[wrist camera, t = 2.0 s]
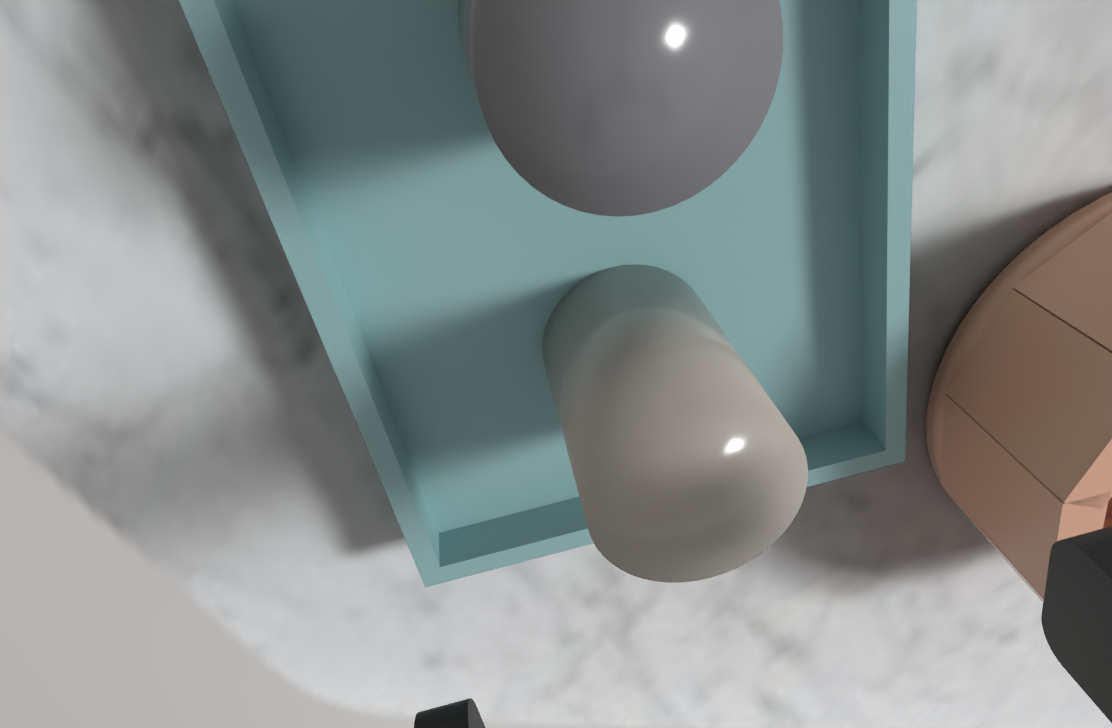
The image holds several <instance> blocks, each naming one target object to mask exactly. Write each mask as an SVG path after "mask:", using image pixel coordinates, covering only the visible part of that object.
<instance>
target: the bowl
mask: <svg viewBox="0 0 1112 728" xmlns="http://www.w3.org/2000/svg"><path fill="white" fill-rule="evenodd" d="M926 438H927V448H928V452H929V457H930V462H931V465H932V467H933V469H934V472H935V474H936V476H937V479H938V481H939V482H940V484H941V485H942V487H943V488H944V489H945V491H946V492H947V494H948V495H949V496H950V497H951V498H952V499H953V501H954V502H955V503H956V504H957V505H958V506H959V507H960V508H961V510H962V511H963V512H964V513H965V514H966V515H967V516H968V518H969V519H970V520H971V521H972V522H973V524H974V525H975V526H976V527H977V528H978V530H979V531H980V532H981V533H982V534H983V536H984V537H985V538H986V539H987V540H988V541H989V543H990V544H991V545H992V546H993V547H994V548H995V549H996V550H997V551H998V553H999V554H1000V555H1001V556H1002V557H1003V558H1004V559H1005V560H1006V562H1007V563H1008V564H1009V565H1010V566H1011V567H1012V568H1013V569H1014V571H1015V572H1016V573H1017V574H1018V575H1019V576H1020V577H1021V578H1022V580H1023V581H1024V582H1025V583H1026V584H1027V585H1028V586H1029V587H1030V589H1031V590H1032V591H1033V592H1034V593H1035V594H1036V595H1037V596H1038V597H1039V599H1040V600H1041V601H1042V602H1044V595H1045V587H1046V580H1047V572H1048V565H1049V558H1050V551H1051V548H1052V546H1053V544H1054V543H1055V542H1057V541H1059V540H1063V539H1066V538H1070V537H1074V536H1077V535H1081V534H1085V533H1088V532H1092V531H1096V530H1099V529H1103V528H1107V527H1112V193H1109V194H1107V195H1105V196H1103V197H1101V198H1099V199H1097V200H1095V201H1094V202H1092V203H1090V204H1088V205H1087V206H1085V207H1083V208H1081V209H1079V210H1078V211H1076V212H1074V213H1072V214H1071V215H1070V216H1068V217H1067V218H1065V219H1064V220H1062V221H1061V222H1059V223H1058V224H1057V225H1055V226H1054V227H1052V228H1051V229H1049V230H1048V231H1046V232H1045V233H1044V234H1043V235H1041V236H1040V237H1039V238H1038V239H1037V240H1035V241H1034V242H1033V243H1032V244H1031V245H1029V246H1028V247H1027V248H1026V249H1025V250H1023V251H1022V252H1021V253H1020V254H1019V255H1018V256H1017V257H1016V258H1015V259H1014V260H1013V261H1012V262H1011V263H1010V264H1009V265H1008V266H1007V267H1006V268H1005V269H1004V270H1003V271H1002V272H1001V273H1000V274H999V275H998V276H997V277H996V278H995V279H994V280H993V281H992V283H991V284H990V285H989V286H988V287H987V289H986V290H985V291H984V292H983V293H982V295H981V296H980V297H979V298H978V299H977V301H976V302H975V303H974V305H973V306H972V308H971V309H970V311H969V312H968V314H967V315H966V317H965V318H964V319H963V321H962V322H961V324H960V325H959V327H958V329H957V330H956V332H955V334H954V336H953V338H952V340H951V342H950V343H949V345H948V347H947V349H946V351H945V353H944V355H943V358H942V360H941V363H940V365H939V368H938V370H937V373H936V375H935V378H934V382H933V386H932V390H931V394H930V397H929V401H928V410H927V418H926Z"/></svg>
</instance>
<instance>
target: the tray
mask: <svg viewBox="0 0 1112 728" xmlns="http://www.w3.org/2000/svg"><path fill="white" fill-rule="evenodd" d="M779 1H780V5H781V13H782V21H783V55H782V63H781V71H780V75H779V79H778V83H777V88H776V91H775V94H774V97H773V100H772V102H771V105H770V108H769V111H768V113H767V115H766V117H765V119H764V121H763V123H762V125H761V127H760V129H759V131H758V132H757V134H756V135H755V137H754V138H753V140H752V141H751V143H750V145H749V146H748V147H747V149H746V150H745V151H744V152H743V154H742V155H741V156H740V157H739V159H738V160H737V161H736V162H735V163H734V164H733V165H732V166H731V167H730V168H729V169H728V170H727V171H726V172H725V173H724V174H723V175H722V176H721V177H720V178H718V179H717V180H716V181H715V182H713V183H712V184H711V185H710V186H708V187H707V188H706V189H704V190H702V191H701V192H699V193H697V194H696V195H694V196H693V197H691V198H689V199H687V200H685V201H683V202H681V203H678V204H676V205H674V206H672V207H669V208H665V209H662V210H659V211H656V212H652V213H647V214H642V215H636V216H620V217H616V216H601V215H595V214H590V213H585V212H581V211H578V210H575V209H572V208H569V207H566V206H564V205H562V204H560V203H558V202H556V201H554V200H552V199H550V198H548V197H546V196H545V195H543V194H542V193H541V192H539V191H538V190H536V189H535V188H533V187H532V186H531V185H530V184H529V183H528V182H526V181H525V180H524V179H523V178H522V177H521V176H520V175H519V174H518V173H517V172H516V171H515V170H514V169H513V167H512V166H511V165H510V164H509V163H508V161H507V160H506V159H505V157H504V156H503V154H502V153H501V151H500V150H499V148H498V147H497V145H496V143H495V142H494V139H493V137H492V135H491V133H490V131H489V129H488V127H487V125H486V122H485V119H484V116H483V113H482V109H481V106H480V103H479V100H478V96H477V93H476V89H475V86H474V82H473V79H472V75H471V72H470V68H469V65H468V61H467V58H466V54H465V51H464V47H463V44H462V40H461V35H460V30H459V25H458V11H457V7H458V0H179V2H180V5H181V7H182V9H183V12H184V14H185V16H186V19H187V21H188V24H189V26H190V28H191V31H192V33H193V35H194V38H195V40H196V43H197V45H198V47H199V50H200V52H201V54H202V57H203V59H204V62H205V64H206V66H207V69H208V71H209V74H210V76H211V78H212V81H213V83H214V85H215V88H216V90H217V93H218V95H219V97H220V100H221V102H222V104H223V107H224V109H225V112H226V114H227V116H228V119H229V121H230V123H231V126H232V128H233V131H234V133H235V135H236V138H237V140H238V143H239V145H240V147H241V150H242V152H243V154H244V157H245V159H246V162H247V164H248V166H249V169H250V171H251V173H252V176H253V178H254V181H255V183H256V185H257V188H258V190H259V192H260V195H261V197H262V200H263V202H264V204H265V207H266V209H267V212H268V214H269V216H270V219H271V221H272V223H273V226H274V228H275V231H276V233H277V235H278V238H279V240H280V242H281V245H282V247H283V250H284V252H285V254H286V257H287V259H288V261H289V264H290V266H291V269H292V271H293V273H294V276H295V278H296V281H297V283H298V285H299V288H300V290H301V292H302V295H303V297H304V300H305V302H306V304H307V307H308V309H309V311H310V314H311V316H312V319H313V321H314V323H315V326H316V328H317V330H318V333H319V335H320V338H321V340H322V342H323V345H324V347H325V350H326V352H327V354H328V357H329V359H330V361H331V364H332V366H333V369H334V371H335V373H336V376H337V378H338V380H339V383H340V385H341V388H342V390H343V392H344V395H345V397H346V399H347V402H348V404H349V407H350V409H351V411H352V414H353V416H354V419H355V421H356V423H357V426H358V428H359V430H360V433H361V435H362V438H363V440H364V442H365V445H366V447H367V449H368V452H369V454H370V457H371V459H372V461H373V464H374V466H375V468H376V471H377V473H378V476H379V478H380V480H381V483H382V485H383V488H384V490H385V492H386V495H387V497H388V499H389V502H390V504H391V507H392V509H393V511H394V514H395V516H396V518H397V521H398V523H399V526H400V528H401V530H402V533H403V535H404V537H405V540H406V542H407V545H408V547H409V549H410V552H411V554H412V557H413V559H414V561H415V564H416V566H417V568H418V571H419V573H420V576H421V578H422V580H423V583H424V585H425V587H428V586H432V585H436V584H440V583H444V582H447V581H451V580H455V579H459V578H463V577H466V576H470V575H474V574H478V573H482V572H485V571H489V570H493V569H497V568H501V567H505V566H508V565H512V564H516V563H520V562H524V561H527V560H531V559H535V558H539V557H543V556H546V555H550V554H554V553H558V552H562V551H566V550H569V549H573V548H577V547H581V546H585V545H588V544H592V543H594V542H593V540H592V538H591V536H590V533H589V530H588V528H587V524H586V520H585V516H584V513H583V509H582V505H581V501H580V497H579V494H578V490H577V486H576V482H575V479H574V475H573V471H572V467H571V463H570V460H569V456H568V452H567V448H566V444H565V441H564V437H563V433H562V429H561V425H560V422H559V418H558V414H557V410H556V406H555V403H554V399H553V395H552V391H551V387H550V384H549V380H548V376H547V372H546V369H545V365H544V360H543V351H542V343H543V335H544V331H545V328H546V324H547V322H548V319H549V317H550V315H551V313H552V311H553V310H554V308H555V306H556V305H557V304H558V302H559V301H560V300H561V298H562V297H563V296H564V295H565V294H566V293H567V292H568V291H569V290H570V289H571V288H572V287H574V286H575V285H576V284H578V283H579V282H580V281H582V280H583V279H585V278H587V277H588V276H590V275H592V274H595V273H597V272H599V271H601V270H605V269H608V268H611V267H615V266H621V265H631V264H638V265H649V266H654V267H658V268H661V269H664V270H667V271H669V272H671V273H673V274H675V275H677V276H678V277H679V278H681V279H682V280H684V281H685V282H686V283H687V284H688V285H689V286H690V287H691V288H692V289H693V290H694V292H695V293H696V294H697V295H698V297H699V298H700V300H701V301H702V303H703V304H704V305H705V307H706V308H707V310H708V311H709V312H710V314H711V315H712V317H713V318H714V319H715V321H716V322H717V324H718V325H719V327H720V328H721V329H722V331H723V332H724V334H725V335H726V336H727V338H728V339H729V341H730V342H731V344H732V345H733V346H734V348H735V349H736V351H737V352H738V353H739V355H740V356H741V358H742V359H743V361H744V362H745V363H746V365H747V366H748V368H749V369H750V370H751V372H752V373H753V375H754V376H755V378H756V379H757V380H758V382H759V383H760V385H761V386H762V387H763V389H764V390H765V392H766V393H767V395H768V396H769V397H770V399H771V400H772V402H773V403H774V404H775V406H776V407H777V409H778V410H779V412H780V413H781V414H782V416H783V417H784V419H785V420H786V421H787V423H788V424H789V426H790V427H791V429H792V430H793V431H794V433H795V434H796V436H797V437H798V439H799V441H800V443H801V444H802V446H803V449H804V452H805V455H806V458H807V465H808V482H807V487H810V486H813V485H817V484H821V483H825V482H829V481H832V480H836V479H840V478H844V477H848V476H852V475H855V474H859V473H863V472H867V471H871V470H874V469H878V468H882V467H886V466H890V465H894V464H897V463H901V462H905V451H906V411H907V371H908V331H909V291H910V251H911V211H912V172H913V132H914V92H915V52H916V12H917V0H779Z"/></svg>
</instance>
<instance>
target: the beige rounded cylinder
mask: <svg viewBox="0 0 1112 728" xmlns="http://www.w3.org/2000/svg"><path fill="white" fill-rule="evenodd" d="M542 351H543V360H544V365H545V369H546V372H547V376H548V380H549V384H550V387H551V391H552V395H553V399H554V403H555V406H556V410H557V414H558V418H559V422H560V425H561V429H562V433H563V437H564V441H565V444H566V448H567V452H568V456H569V460H570V463H571V467H572V471H573V475H574V479H575V482H576V486H577V490H578V494H579V497H580V501H581V505H582V509H583V513H584V516H585V520H586V524H587V528H588V530H589V533H590V536H591V538H592V540H593V542H594V544H595V546H596V547H597V549H598V550H599V551H600V552H601V554H602V555H603V556H604V557H605V558H606V559H607V560H608V561H610V562H611V563H612V564H613V565H615V566H616V567H618V568H619V569H621V570H623V571H625V572H627V573H629V574H631V575H634V576H637V577H640V578H643V579H647V580H652V581H659V582H689V581H697V580H702V579H706V578H711V577H714V576H717V575H720V574H724V573H726V572H728V571H731V570H733V569H736V568H738V567H740V566H741V565H743V564H745V563H747V562H749V561H750V560H752V559H754V558H755V557H757V556H758V555H760V554H761V553H762V552H764V551H765V550H766V549H767V548H769V547H770V546H771V545H772V544H773V543H774V542H775V541H776V540H777V539H778V538H779V537H780V536H781V535H782V534H783V533H784V532H785V530H786V529H787V528H788V527H789V525H790V524H791V522H792V521H793V519H794V518H795V516H796V515H797V513H798V511H799V509H800V507H801V504H802V502H803V499H804V496H805V493H806V488H807V482H808V465H807V458H806V455H805V452H804V449H803V446H802V444H801V443H800V441H799V439H798V437H797V436H796V434H795V433H794V431H793V430H792V429H791V427H790V426H789V424H788V423H787V421H786V420H785V419H784V417H783V416H782V414H781V413H780V412H779V410H778V409H777V407H776V406H775V404H774V403H773V402H772V400H771V399H770V397H769V396H768V395H767V393H766V392H765V390H764V389H763V387H762V386H761V385H760V383H759V382H758V380H757V379H756V378H755V376H754V375H753V373H752V372H751V370H750V369H749V368H748V366H747V365H746V363H745V362H744V361H743V359H742V358H741V356H740V355H739V353H738V352H737V351H736V349H735V348H734V346H733V345H732V344H731V342H730V341H729V339H728V338H727V336H726V335H725V334H724V332H723V331H722V329H721V328H720V327H719V325H718V324H717V322H716V321H715V319H714V318H713V317H712V315H711V314H710V312H709V311H708V310H707V308H706V307H705V305H704V304H703V303H702V301H701V300H700V298H699V297H698V295H697V294H696V293H695V292H694V290H693V289H692V288H691V287H690V286H689V285H688V284H687V283H686V282H685V281H684V280H682V279H681V278H679V277H678V276H677V275H675V274H673V273H671V272H669V271H667V270H664V269H661V268H658V267H654V266H649V265H638V264H631V265H621V266H615V267H611V268H608V269H605V270H601V271H599V272H597V273H595V274H592V275H590V276H588V277H587V278H585V279H583V280H582V281H580V282H579V283H578V284H576V285H575V286H574V287H572V288H571V289H570V290H569V291H568V292H567V293H566V294H565V295H564V296H563V297H562V298H561V300H560V301H559V302H558V304H557V305H556V306H555V308H554V310H553V311H552V313H551V315H550V317H549V319H548V322H547V324H546V328H545V331H544V335H543V343H542Z"/></svg>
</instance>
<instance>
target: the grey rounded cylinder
mask: <svg viewBox="0 0 1112 728" xmlns="http://www.w3.org/2000/svg"><path fill="white" fill-rule="evenodd" d="M457 11H458V25H459V30H460V35H461V40H462V44H463V47H464V51H465V54H466V58H467V61H468V65H469V68H470V72H471V75H472V79H473V82H474V86H475V89H476V93H477V96H478V100H479V103H480V106H481V109H482V113H483V116H484V119H485V122H486V125H487V127H488V129H489V131H490V133H491V135H492V137H493V139H494V142H495V143H496V145H497V147H498V148H499V150H500V151H501V153H502V154H503V156H504V157H505V159H506V160H507V161H508V163H509V164H510V165H511V166H512V167H513V169H514V170H515V171H516V172H517V173H518V174H519V175H520V176H521V177H522V178H523V179H524V180H525V181H526V182H528V183H529V184H530V185H531V186H532V187H533V188H535V189H536V190H538V191H539V192H541V193H542V194H543V195H545V196H546V197H548V198H550V199H552V200H554V201H556V202H558V203H560V204H562V205H564V206H566V207H569V208H572V209H575V210H578V211H581V212H585V213H590V214H595V215H601V216H616V217H620V216H636V215H642V214H647V213H652V212H656V211H659V210H662V209H665V208H669V207H672V206H674V205H676V204H678V203H681V202H683V201H685V200H687V199H689V198H691V197H693V196H694V195H696V194H697V193H699V192H701V191H702V190H704V189H706V188H707V187H708V186H710V185H711V184H712V183H713V182H715V181H716V180H717V179H718V178H720V177H721V176H722V175H723V174H724V173H725V172H726V171H727V170H728V169H729V168H730V167H731V166H732V165H733V164H734V163H735V162H736V161H737V160H738V159H739V157H740V156H741V155H742V154H743V152H744V151H745V150H746V149H747V147H748V146H749V145H750V143H751V141H752V140H753V138H754V137H755V135H756V134H757V132H758V131H759V129H760V127H761V125H762V123H763V121H764V119H765V117H766V115H767V113H768V111H769V108H770V105H771V102H772V100H773V97H774V94H775V91H776V88H777V83H778V79H779V75H780V71H781V63H782V55H783V21H782V13H781V5H780V1H779V0H458V7H457Z"/></svg>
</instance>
